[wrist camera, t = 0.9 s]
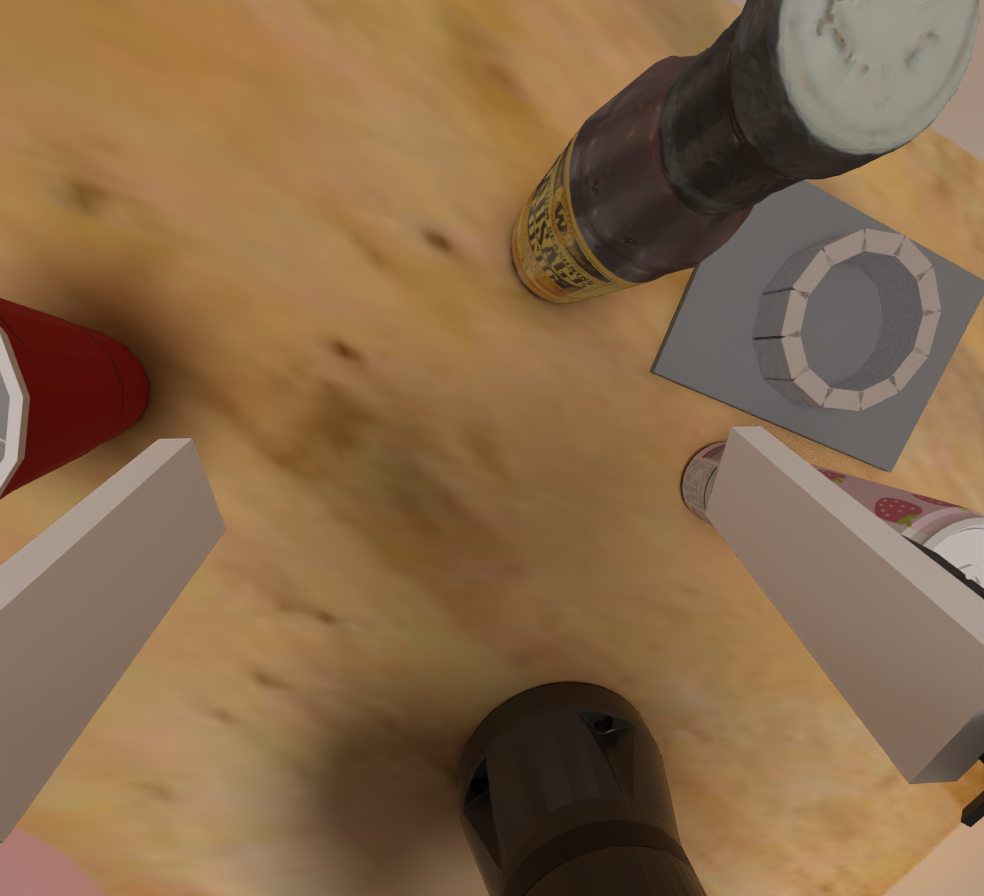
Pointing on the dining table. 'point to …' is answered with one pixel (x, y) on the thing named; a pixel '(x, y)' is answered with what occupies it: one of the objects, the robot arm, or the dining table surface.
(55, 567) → the robot arm
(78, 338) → the plastic cup
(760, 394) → the holder mat
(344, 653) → the dining table surface
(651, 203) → the sauce bottle
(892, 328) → the white segmented ring
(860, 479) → the beverage can
